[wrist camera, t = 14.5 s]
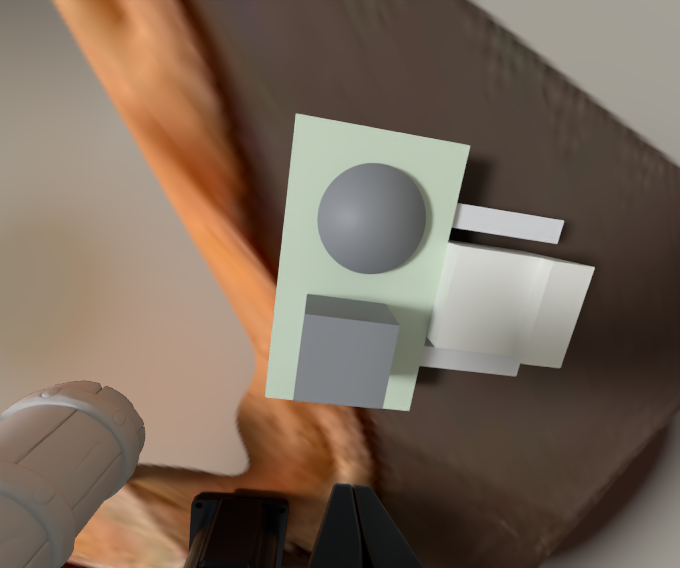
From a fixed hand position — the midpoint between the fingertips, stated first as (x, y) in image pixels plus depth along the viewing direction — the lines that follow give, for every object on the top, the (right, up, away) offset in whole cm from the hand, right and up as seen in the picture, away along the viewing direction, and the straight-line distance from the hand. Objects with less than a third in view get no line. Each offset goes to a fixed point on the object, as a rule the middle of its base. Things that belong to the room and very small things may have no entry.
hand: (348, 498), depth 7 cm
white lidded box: (+8, +5, +12) cm, 15 cm away
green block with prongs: (+4, +5, +12) cm, 13 cm away
